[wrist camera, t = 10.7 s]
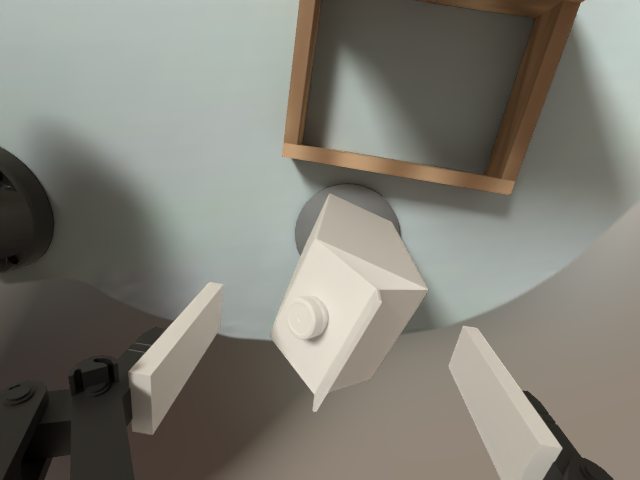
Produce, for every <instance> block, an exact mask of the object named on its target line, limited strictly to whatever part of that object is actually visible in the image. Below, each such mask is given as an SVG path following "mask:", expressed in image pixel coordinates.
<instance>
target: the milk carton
mask: <svg viewBox="0 0 640 480" xmlns="http://www.w3.org/2000/svg"><path fill="white" fill-rule="evenodd" d="M427 292H428V288H427V287H426V285H425V283H424V281H423V279H422V277H421V275H420V273H419V272H418V270H417V268H416V266H415V264H414V262H413V260H412V259H411V257H410V255H409V253H408V251H407V249H406V247H405V246H404V244H403V242H402V240H401V238H400V236H399V234H398V232H397V231H396V229H395V227H394V225H393V223H392V222H391V221H389V220H387V219H384V218H382V217H380V216H378V215H376V214H374V213H372V212H369V211H367V210H365V209H363V208H361V207H359V206H356V205H354V204H352V203H350V202H348V201H346V200H344V199H341V198H339V197H337V196H335V195H333V194H329V195H328V197H327V199H326V201H325V203H324V206H323V208H322V210H321V212H320V214H319V216H318V219H317V221H316V223H315V225H314V227H313V229H312V232H311V234H310V236H309V238H308V240H307V242H306V245H305V247H304V249H303V252H302V254H301V257H300V259H299V262H298V264H297V267H296V269H295V272H294V274H293V277H292V279H291V282H290V284H289V287H288V289H287V292H286V294H285V297H284V299H283V302H282V304H281V307H280V309H279V312H278V314H277V317H276V319H275V322H274V324H273V327H272V330H271V333H270V337H271V339H272V340H273V341H274V343H275V344H276V345H277V347H278V348H279V349H280V351H281V352H282V353H283V354H284V356H285V357H286V358H287V360H288V361H289V362H290V364H291V365H292V366H293V367H294V369H295V370H296V371H297V373H298V374H299V375H300V377H301V378H302V379H303V380H304V382H305V383H306V384H307V386H308V387H309V388H310V390H311V391H312V392H313V393H314V395H315V396H314V403H313V411H314V412H317V410H318V408H319V407H320V405H321V403H322V402H323V400H324V398H325V396H326V395H327V393H328V392H331V391H334V390H338V389H341V388H344V387H347V386H351V385H354V384H357V383H360V382H364V381H367V380H370V379H371V378H372V377H373V375H374V374H375V372H376V371H377V369H378V367H379V366H380V364H381V363H382V362H383V360H384V358H385V357H386V355H387V354H388V352H389V351H390V349H391V348H392V346H393V345H394V343H395V342H396V340H397V339H398V337H399V335H400V334H401V332H402V331H403V329H404V328H405V326H406V325H407V323H408V322H409V320H410V319H411V317H412V316H413V314H414V313H415V311H416V309H417V308H418V306H419V305H420V303H421V302H422V300H423V299H424V297H425V296H426V294H427Z"/></svg>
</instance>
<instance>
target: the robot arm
mask: <svg viewBox="0 0 640 480" xmlns="http://www.w3.org/2000/svg"><path fill="white" fill-rule="evenodd" d="M52 234H53V217H52V212H51V208H50V205H49V202H48V199H47V197H46V195H45V193H44V191H43V189H42V187H41V185H40V184H39V182H38V181H37V179H36V178H35V177H34V175H33V174H32V173H31V172H30V171H29V169H28V168H27V167H26V166H25V165H24V164H23V163H22V162H21V161H19V160H18V159H17V158H16V157H15V156H13V155H12V154H11V153H9V152H8V151H6V150H5V149H3V148H1V147H0V273H4V272H8V271H12V270H15V269H17V268H20V267H23V266H25V265H28V264H30V263H32V262H34V261H36V260H38V259H39V258H40V257H41V256H42V255H43V254H44V253H45V252H46V250H47V249H48V247H49V245H50V242H51V239H52ZM222 296H223V284H218V283H212V282H209V283H208V284H207V285H206V286H205V287H204V288H203V290H202V291H201V292H200V293H199V294H198V295H197V296H196V297H195V298H194V300H193V301H192V302H191V303H190V304H189V305H188V306H187V307H186V308H185V309H184V311H183V312H182V313H181V314H180V315H179V316H178V317H177V318H176V319H175V321H174V322H173V323H172V324H171V325H170V326H169V327H168V328H167V329H161V328H156V327H155V328H153V329H151V330H149V331H148V332H146V333H144V334H143V335H142V336H141V337H140V338H139V339H138V340H137V341H136V342H135V344H133V345H132V346H131V347H130V348H129V349H128V350H127V351H126V352H125V353H124V354H123V355H122V356H121V357H120V358H119V359H118V360H117V361H116V359H115V358H113V357H111V356H96V357H92V358H89V359H86V360H84V361H82V362H80V363H79V364H77V365H76V366H75V367H74V368H73V369H72V370H71V371H70V374H69V384H70V389H68V390H57V391H47V387H46V385H45V384H44V383H43V382H41V381H38V380H28V381H23V382H19V383H16V384H14V385H11V386H9V387H7V388H5V389H4V390H2V391H1V392H0V480H44V479H45V476H46V474H47V471H48V469H49V466H50V464H51V461H52V458H53V457H58V456H65V455H71V469H70V476H71V477H70V480H134V474H133V467H132V461H131V454H130V447H129V441H128V434H127V428H126V427H127V425H128V424H129V422H130V421H132V431H133V432H139V433H144V434H150V435H153V434H154V432H155V431H156V429H157V427H158V426H159V424H160V423H161V421H162V420H163V418H164V416H165V415H166V413H167V412H168V410H169V408H170V407H171V405H172V403H173V402H174V400H175V399H176V397H177V396H178V394H179V392H180V391H181V389H182V388H183V386H184V385H185V383H186V381H187V380H188V378H189V377H190V375H191V374H192V372H193V370H194V369H195V367H196V365H197V364H198V362H199V361H200V359H201V358H202V356H203V354H204V353H205V351H206V350H207V348H208V346H209V345H210V343H211V342H212V340H213V339H214V337H215V335H216V334H217V332H218V331H219V329H220V327H221V314H222ZM448 367H449V369H450V372H451V374H452V376H453V378H454V380H455V382H456V384H457V386H458V389H459V391H460V393H461V395H462V397H463V399H464V402H465V404H466V406H467V408H468V410H469V412H470V415H471V417H472V419H473V421H474V423H475V425H476V427H477V430H478V432H479V434H480V436H481V438H482V440H483V442H484V445H485V447H486V449H487V451H488V453H489V455H490V457H491V460H492V462H493V464H494V466H495V468H496V470H497V473H498V475H499V477H500V479H501V480H613V478H612V477H611V476H610V475H609V474H608V473H607V472H606V471H605V470H603V469H602V468H601V467H599V466H598V465H597V464H595V463H593V462H591V461H590V460H588V459H586V458H582V457H581V456H580V455H579V453H578V452H577V450H576V449H575V448H574V447H573V445H572V444H571V442H570V441H569V440H568V438H567V437H566V436H565V434H564V433H563V432H562V430H561V429H560V428H559V426H558V425H556V424H555V421H554V420H553V419H552V417H551V416H550V415H549V413H548V412H547V410H546V409H545V408H544V406H543V405H542V404H541V402H540V401H538V400H537V399H536V398H535V397H534V396H533V395H531V393H529V392H528V391H522V390H521V389H520V388H519V386H518V385H517V383H516V382H515V381H514V379H513V378H512V376H511V375H510V373H509V372H508V371H507V369H506V368H505V366H504V365H503V364H502V362H501V361H500V359H499V358H498V357H497V356H496V354H495V352H494V351H493V349H492V348H491V347H490V345H489V344H488V343H487V341H486V340H485V338H484V337H483V335H482V334H481V333H480V331H479V330H478V328H473V327H467V326H463V328H462V331H461V333H460V336H459V339H458V341H457V344H456V347H455V349H454V352H453V355H452V357H451V360H450V363H449V366H448Z"/></svg>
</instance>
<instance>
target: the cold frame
mask: <svg viewBox="0 0 640 480" xmlns="http://www.w3.org/2000/svg"><path fill="white" fill-rule="evenodd" d="M416 1H423V2H430V3H436V4H443V5H450V6H456V7H463V8H470V9H476V10H483V11H489V12H496V13H503V14H509V15H516V16H523V17H529V18H536V19H535V22H534V25H533V28H532V31H531V34H530V37H529V40H528V43H527V46H526V49H525V52H524V55H523V58H522V61H521V64H520V67H519V70H518V73H517V76H516V79H515V82H514V86H513V89H512V92H511V95H510V98H509V101H508V104H507V107H506V110H505V113H504V116H503V119H502V122H501V125H500V128H499V131H498V134H497V137H496V140H495V143H494V146H493V149H492V152H491V155H490V158H489V161H488V164H487V167H486V170H485V174H484V175H483V174H477V173H471V172H465V171H459V170H453V169H447V168H441V167H435V166H430V165H424V164H418V163H412V162H406V161H400V160H394V159H388V158H382V157H376V156H370V155H364V154H358V153H352V152H346V151H340V150H334V149H328V148H322V147H316V146H310V145H304V144H303V137H304V129H305V122H306V114H307V107H308V99H309V91H310V84H311V76H312V69H313V61H314V54H315V46H316V38H317V31H318V23H319V16H320V8H321V0H300V1H299V10H298V19H297V28H296V37H295V46H294V55H293V64H292V73H291V82H290V91H289V100H288V109H287V118H286V127H285V135H284V144H283V153H282V157H288V158H294V159H300V160H306V161H312V162H317V163H323V164H329V165H335V166H341V167H347V168H353V169H359V170H365V171H371V172H377V173H383V174H388V175H394V176H400V177H406V178H412V179H418V180H424V181H430V182H436V183H442V184H448V185H454V186H459V187H465V188H471V189H477V190H483V191H489V192H495V193H501V194H507V195H511V192H512V189H513V186H514V184H515V181H516V178H517V175H518V173H519V170H520V167H521V165H522V162H523V159H524V156H525V154H526V151H527V148H528V145H529V143H530V140H531V137H532V134H533V132H534V129H535V126H536V123H537V121H538V118H539V115H540V113H541V110H542V107H543V104H544V102H545V99H546V96H547V93H548V91H549V88H550V85H551V82H552V80H553V77H554V74H555V71H556V69H557V66H558V63H559V61H560V58H561V55H562V52H563V50H564V47H565V44H566V41H567V39H568V36H569V33H570V30H571V28H572V25H573V22H574V19H575V17H576V14H577V11H578V9H579V6H580V3H581V2H583V1H585V0H416Z"/></svg>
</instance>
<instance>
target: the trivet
mask: <svg viewBox="0 0 640 480" xmlns="http://www.w3.org/2000/svg"><path fill="white" fill-rule="evenodd" d="M329 194H333V195H335V196H337V197H339V198H341V199H344V200H346V201H348V202H350V203H352V204H354V205H356V206H359V207H361V208H363V209H365V210H367V211H369V212H372V213H374V214H376V215H378V216H380V217H382V218H384V219H387V220H389V221H391V222H392V223H393V225H394V227H395V229H396V231H397V232H398V234H400V232H399V225H398V220H397V218H396V215H395V213H394V211H393V209H392V208H391V206H390V205H389V204H388V202H387V201H386V200H385V199H384V198H383V197H382V196H381V195H379V194H378V193H377V192H375V191H373V190H371V189H370V188H367V187H364V186H361V185H357V184H339V185H334V186H330V187H328V188H325V189H323V190H321V191H320V192H318V193H317V194H315V195H314V196H313V197H312V198H311V199H310V200H309V201H308V202H307V203H306V204H305V206H304V207H303V209H302V210H301V212H300V214H299V217H298V220H297V223H296V228H295V241H296V245H297V249H298V252H299V254H300V256H301V254H302V252H303V249H304V247H305V245H306V242H307V240H308V238H309V236H310V234H311V232H312V229H313V227H314V225H315V223H316V221H317V219H318V216H319V214H320V212H321V210H322V208H323V206H324V203H325V201H326V199H327V197H328V195H329Z"/></svg>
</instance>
